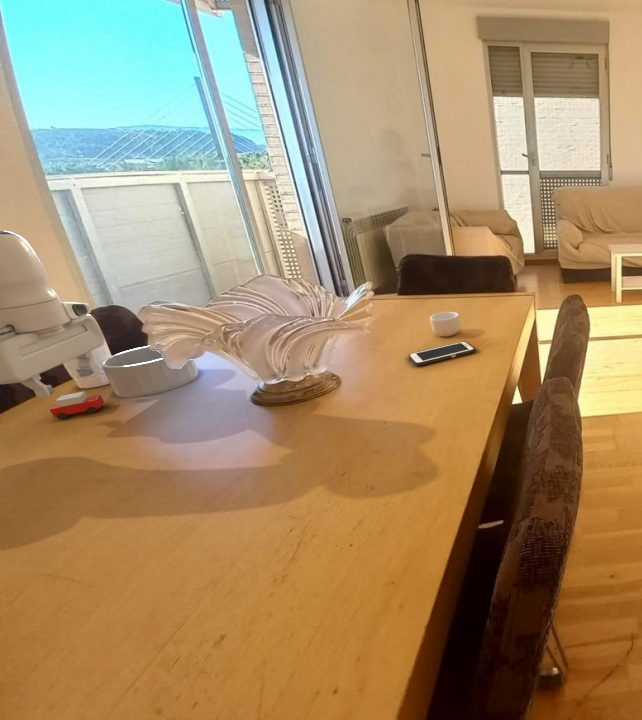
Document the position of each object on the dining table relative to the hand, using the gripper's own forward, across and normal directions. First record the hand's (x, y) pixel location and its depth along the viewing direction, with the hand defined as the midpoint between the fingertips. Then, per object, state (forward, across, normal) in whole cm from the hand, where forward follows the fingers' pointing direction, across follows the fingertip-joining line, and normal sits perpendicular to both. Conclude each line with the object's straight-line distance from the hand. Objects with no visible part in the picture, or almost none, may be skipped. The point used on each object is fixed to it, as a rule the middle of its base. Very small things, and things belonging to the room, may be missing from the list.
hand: (68, 384), depth 93 cm
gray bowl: (+6, +13, -6) cm, 15 cm away
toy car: (+6, 0, 0) cm, 6 cm away
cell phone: (+7, +13, -68) cm, 69 cm away
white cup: (+6, +16, +8) cm, 20 cm away
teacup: (+7, +30, -66) cm, 73 cm away
